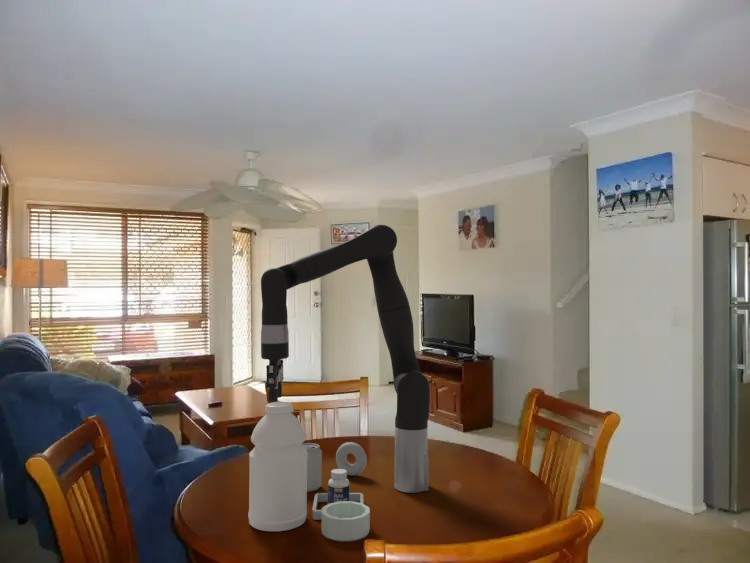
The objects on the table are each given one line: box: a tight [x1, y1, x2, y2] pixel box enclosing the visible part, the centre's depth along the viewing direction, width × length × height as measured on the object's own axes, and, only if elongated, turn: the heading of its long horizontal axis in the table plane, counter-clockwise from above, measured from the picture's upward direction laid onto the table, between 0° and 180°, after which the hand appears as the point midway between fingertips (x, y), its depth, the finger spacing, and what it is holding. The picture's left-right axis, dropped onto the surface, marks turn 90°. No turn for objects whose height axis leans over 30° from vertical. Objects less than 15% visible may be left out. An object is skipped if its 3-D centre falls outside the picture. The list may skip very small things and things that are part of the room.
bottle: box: [247, 401, 308, 532], centre depth 137 cm, size 14×14×28 cm
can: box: [302, 442, 323, 493], centre depth 160 cm, size 8×8×12 cm
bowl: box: [320, 501, 371, 542], centre depth 132 cm, size 11×11×5 cm
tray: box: [311, 492, 364, 521], centre depth 144 cm, size 13×13×2 cm
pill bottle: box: [327, 468, 350, 505], centre depth 145 cm, size 5×5×10 cm
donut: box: [335, 441, 368, 477], centre depth 172 cm, size 10×4×10 cm, turn 68°
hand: (275, 400), depth 156 cm, fingers open, 8 cm apart
